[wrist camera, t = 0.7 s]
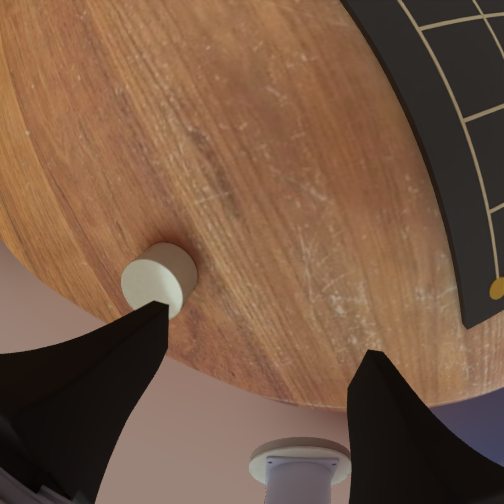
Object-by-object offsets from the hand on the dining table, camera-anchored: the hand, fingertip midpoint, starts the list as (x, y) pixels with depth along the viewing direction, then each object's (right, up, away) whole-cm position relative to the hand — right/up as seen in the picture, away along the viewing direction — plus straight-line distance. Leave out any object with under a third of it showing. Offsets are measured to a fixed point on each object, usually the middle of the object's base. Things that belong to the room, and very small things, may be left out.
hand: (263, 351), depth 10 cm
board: (+26, +18, -1) cm, 32 cm away
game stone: (-6, +2, +11) cm, 13 cm away
